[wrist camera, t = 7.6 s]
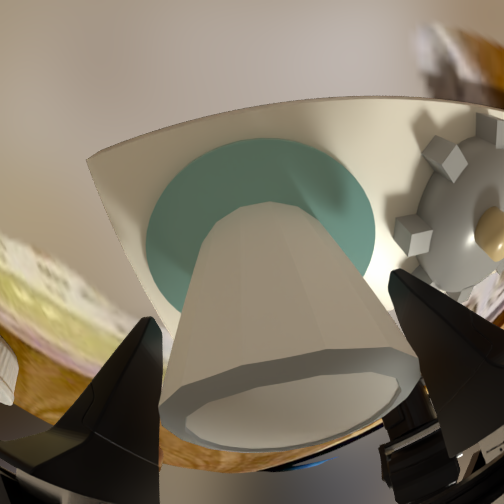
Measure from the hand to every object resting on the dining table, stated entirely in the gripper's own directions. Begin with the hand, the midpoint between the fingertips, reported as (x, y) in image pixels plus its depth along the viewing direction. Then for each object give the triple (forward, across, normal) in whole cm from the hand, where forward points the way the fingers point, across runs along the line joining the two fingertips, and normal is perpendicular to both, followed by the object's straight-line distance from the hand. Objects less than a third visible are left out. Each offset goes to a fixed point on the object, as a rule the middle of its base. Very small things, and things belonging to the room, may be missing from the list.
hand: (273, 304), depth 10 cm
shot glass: (+3, 0, 0) cm, 3 cm away
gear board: (+4, -6, 0) cm, 8 cm away
